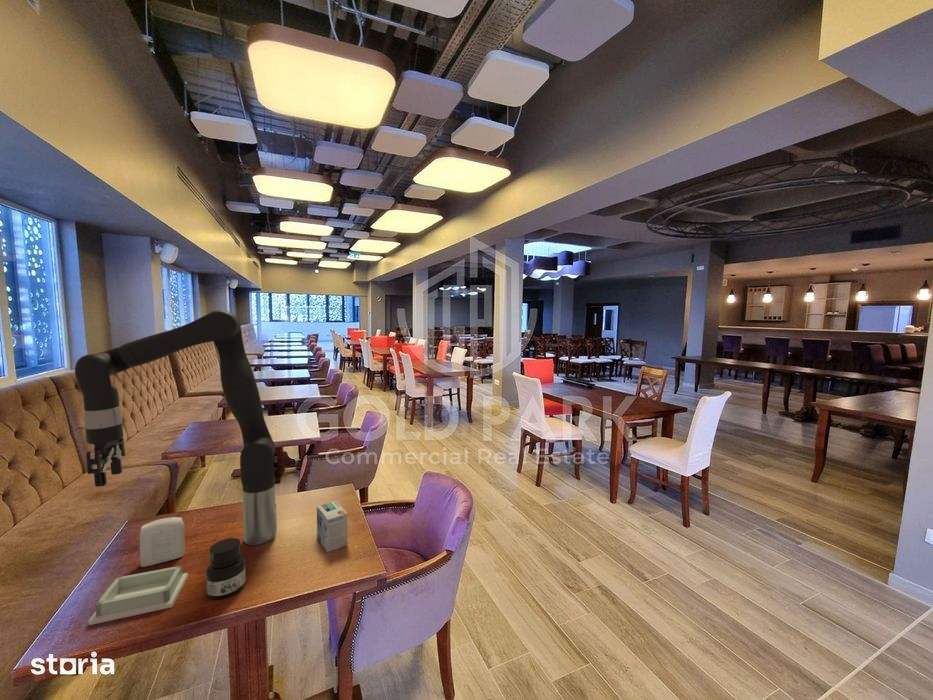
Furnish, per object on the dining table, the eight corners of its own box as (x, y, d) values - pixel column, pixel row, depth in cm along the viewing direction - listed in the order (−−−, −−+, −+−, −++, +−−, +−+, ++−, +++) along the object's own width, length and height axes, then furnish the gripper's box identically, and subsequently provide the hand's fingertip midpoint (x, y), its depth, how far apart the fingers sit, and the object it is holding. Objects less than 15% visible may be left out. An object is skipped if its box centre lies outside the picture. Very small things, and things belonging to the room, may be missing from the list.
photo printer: (185, 550, 115) (184, 511, 114) (184, 557, 111) (182, 518, 110) (141, 561, 109) (139, 521, 108) (139, 569, 106) (137, 528, 105)
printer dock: (187, 576, 104) (187, 562, 103) (172, 607, 92) (171, 591, 92) (114, 590, 98) (113, 576, 97) (88, 625, 86) (87, 609, 86)
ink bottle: (204, 606, 93) (203, 560, 92) (204, 585, 100) (202, 543, 99) (249, 590, 99) (248, 547, 98) (245, 572, 106) (244, 531, 105)
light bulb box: (316, 537, 123) (315, 505, 123) (336, 530, 128) (336, 500, 127) (327, 553, 115) (327, 519, 114) (348, 545, 119) (348, 512, 119)
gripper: (107, 429, 99) (113, 487, 100) (132, 416, 112) (137, 468, 114) (70, 432, 96) (76, 492, 98) (100, 419, 109) (105, 472, 111)
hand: (109, 479), depth 106 cm, fingers open, 8 cm apart
